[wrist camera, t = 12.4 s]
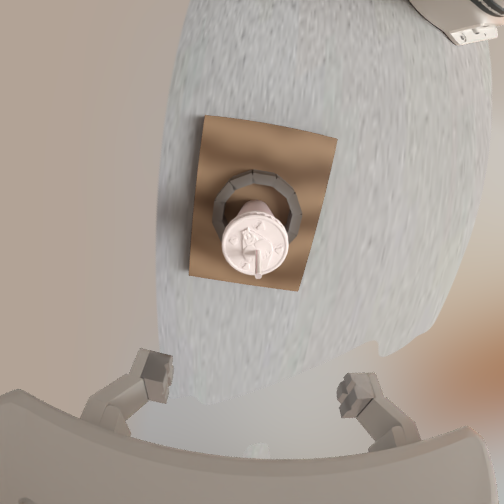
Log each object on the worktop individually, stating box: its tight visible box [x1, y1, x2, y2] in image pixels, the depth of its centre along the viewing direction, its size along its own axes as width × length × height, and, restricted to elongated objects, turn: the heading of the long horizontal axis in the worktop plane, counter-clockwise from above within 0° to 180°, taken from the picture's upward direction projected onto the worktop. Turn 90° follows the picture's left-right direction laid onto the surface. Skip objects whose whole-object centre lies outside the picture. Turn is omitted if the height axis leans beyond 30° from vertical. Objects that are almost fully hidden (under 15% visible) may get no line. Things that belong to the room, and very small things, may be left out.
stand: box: [189, 115, 338, 291], centre depth 34 cm, size 22×16×4 cm
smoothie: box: [222, 200, 289, 279], centre depth 28 cm, size 6×6×14 cm
